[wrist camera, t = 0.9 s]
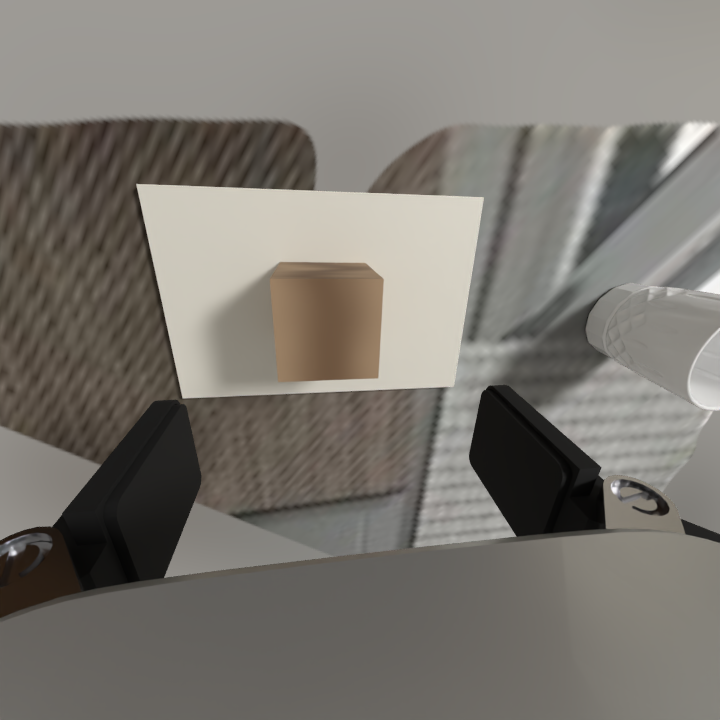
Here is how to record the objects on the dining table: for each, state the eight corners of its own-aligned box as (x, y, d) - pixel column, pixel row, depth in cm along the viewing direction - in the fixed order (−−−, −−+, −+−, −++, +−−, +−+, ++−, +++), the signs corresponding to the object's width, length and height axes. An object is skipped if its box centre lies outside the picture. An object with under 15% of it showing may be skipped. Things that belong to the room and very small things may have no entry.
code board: (480, 197, 25) (484, 197, 25) (451, 383, 32) (454, 386, 31) (140, 184, 22) (135, 183, 21) (185, 394, 28) (182, 398, 28)
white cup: (615, 262, 29) (753, 284, 20) (674, 294, 31) (823, 327, 22) (562, 341, 32) (664, 393, 22) (620, 366, 34) (734, 422, 25)
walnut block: (365, 262, 25) (383, 278, 19) (362, 341, 28) (378, 378, 22) (280, 262, 25) (269, 278, 18) (285, 342, 27) (278, 382, 21)
